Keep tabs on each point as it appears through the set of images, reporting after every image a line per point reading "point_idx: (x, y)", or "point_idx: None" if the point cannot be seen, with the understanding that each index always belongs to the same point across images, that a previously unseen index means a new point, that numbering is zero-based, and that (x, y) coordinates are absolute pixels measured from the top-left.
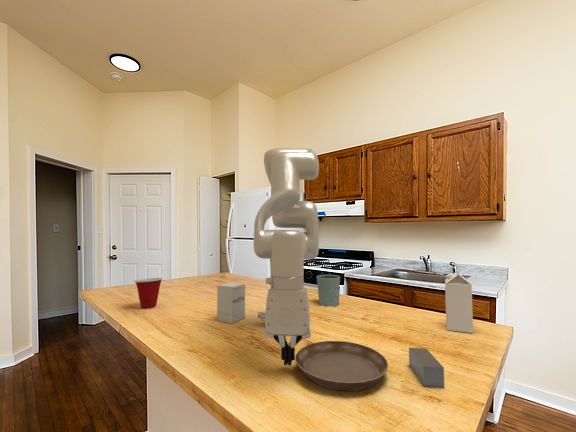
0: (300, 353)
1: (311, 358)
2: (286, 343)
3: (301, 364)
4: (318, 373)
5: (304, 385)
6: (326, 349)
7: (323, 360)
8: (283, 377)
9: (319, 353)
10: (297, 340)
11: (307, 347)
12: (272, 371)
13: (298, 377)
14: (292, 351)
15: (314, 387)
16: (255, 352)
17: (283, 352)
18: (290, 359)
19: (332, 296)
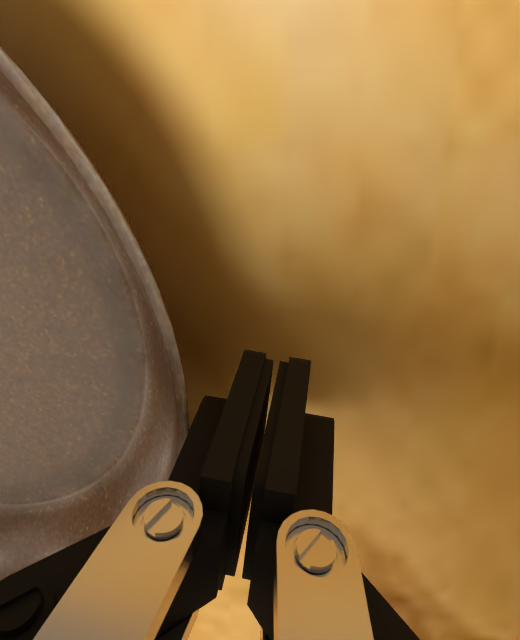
0: None
1: (109, 468)
2: (254, 569)
3: (160, 377)
4: (25, 265)
5: (128, 96)
6: (14, 536)
7: (26, 436)
8: (322, 250)
9: (60, 509)
10: (68, 576)
11: None
12: (413, 354)
13: (192, 244)
14: (197, 458)
15: (35, 56)
16: (511, 604)
17: (307, 466)
18: (236, 382)
19: None
